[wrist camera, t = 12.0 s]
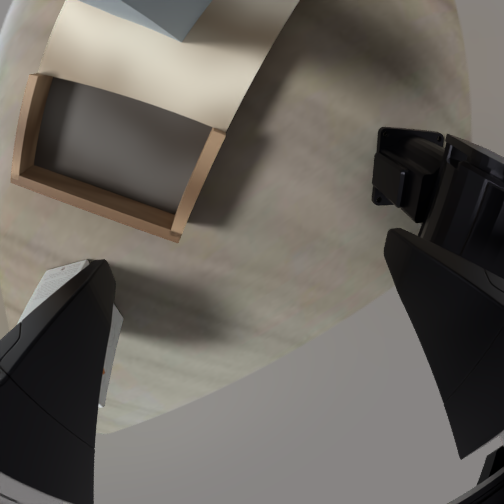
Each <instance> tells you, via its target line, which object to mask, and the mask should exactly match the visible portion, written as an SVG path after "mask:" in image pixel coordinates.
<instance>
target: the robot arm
mask: <svg viewBox="0 0 504 504" xmlns="http://www.w3.org/2000/svg"><path fill="white" fill-rule="evenodd" d="M385 131H386V135H385V136H383V133H384V132H385ZM438 136H439V139H438V140H437V138H438ZM443 140H444V137H443V135H442V134H441V133H438V132H433V131H424V130H415V129H405V128H392V127H382V128H380V129H379V131H378V141H377V153H376V154H375V159H374V169H373V179H372V184H373V192H372V201H373V203H374V204H375V205H395V206H396V207H397V208H401V209H402V210H403V211H404V212H405V213H406V214H407V215H408V216H409V217H410V218H411V219H412V220H413V221H414V222H415V223H422V226H421V229H420V231H419V234H418V236H417V235H415V234H412V233H410V232H408V231H406V230H403V229H401V228H395V229H390V230H389V231H388V233H387V238H386V242H385V247H384V257H385V260H386V263H387V265H388V268H389V270H390V273H391V275H392V278H393V281H394V283H395V286H396V289H397V291H398V294H399V296H400V298H401V301H402V303H403V305H404V307H405V309H406V311H407V313H408V315H409V318H410V320H411V322H412V324H413V327H414V329H415V331H416V333H417V336H418V338H419V340H420V342H421V345H422V348H423V350H424V352H425V355H426V357H427V360H428V362H429V365H430V367H431V370H432V373H433V375H434V378H435V380H436V383H437V386H438V389H439V391H440V394H441V397H442V400H443V403H444V407H445V410H446V413H447V416H448V419H449V422H450V425H451V429H452V432H453V436H454V439H455V442H456V446H457V450H458V454H459V457H460V459H463V458H465V457H466V456H468V455H470V454H472V453H473V452H475V451H476V450H478V449H480V448H481V447H483V446H484V445H486V444H487V443H489V442H490V441H492V440H493V439H495V438H496V437H498V436H500V439H501V441H502V444H503V445H502V446H501V447H499V448H498V449H496V450H495V451H494V452H492V453H491V454H489V455H488V456H487V458H486V460H485V464H484V467H483V469H482V472H481V475H480V478H479V481H478V483H477V486H476V487H474V488H473V489H471V490H470V491H468V492H466V493H465V494H463V495H462V496H460V497H458V498H456V499H455V500H453V501H451V502H449V503H448V504H504V157H502V156H500V155H498V154H496V153H494V152H492V151H490V150H488V149H486V148H483V147H481V146H479V145H476V144H474V143H471V142H469V141H466V140H463V139H461V138H458V137H455V136H453V135H450V134H447V136H446V140H445V141H446V147H445V149H444V148H443ZM378 197H380V198H379V200H377V198H378ZM376 200H377V201H376ZM115 288H116V283H115V279H114V277H113V274H112V272H111V269H110V267H109V264H108V262H107V261H106V260H105V259H102V260H95V261H93V262H91V263H90V264H89V265H88V266H86V267H85V268H84V269H82V270H81V271H80V272H79V273H77V274H76V275H75V276H74V277H72V278H71V279H70V280H69V281H67V282H66V283H65V284H64V285H62V286H61V287H60V288H59V289H58V290H56V291H55V292H54V293H53V294H52V295H50V296H49V297H48V298H47V299H46V300H45V301H43V302H42V303H41V304H40V305H39V306H38V307H36V308H35V309H34V310H33V311H32V312H31V313H30V314H28V315H27V316H26V317H25V318H24V319H23V320H22V322H19V323H18V324H17V325H16V326H15V327H14V328H13V329H12V330H11V331H10V332H8V333H7V334H6V335H5V336H4V337H3V338H2V339H1V340H0V504H63V502H67V503H69V504H94V501H93V499H94V498H93V497H94V494H93V491H94V489H93V488H94V486H93V485H94V453H95V449H94V448H95V436H96V424H97V414H98V405H99V397H100V389H101V382H102V375H103V369H104V363H105V357H106V351H107V346H108V340H109V335H110V330H111V323H112V313H113V304H114V296H115Z"/></svg>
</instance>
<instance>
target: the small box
mask: <svg viewBox="0 0 504 504" xmlns="http://www.w3.org/2000/svg"><path fill="white" fill-rule="evenodd" d="M89 264H90V263H89V261H88V260H83V261H79V262H76V263H72V264H68V265H65V266H61V267H57V268H54V269H50V270H47V271H46V272H45V274H44V276H43V277H42V279H41V281H40V282H39V284H38V286H37V287H36V289H35V291H34V293H33V295H32V296H31V298H30V300H29V302H28V304H27V306H26V308H25V310H24V312H23V314H22V316H21V317H20V319H19V321H18V323H19V322H22V320H23V319H24V318H25V317H26V316H27V315H28V314H30V313H31V312H32V311H33V310H34V309H35V308H36V307H38V306H39V305H40V304H41V303H42V302H43V301H45V300H46V299H47V298H48V297H49V296H50V295H52V294H53V293H54V292H55V291H56V290H58V289H59V288H60V287H61V286H62V285H64V284H65V283H66V282H67V281H69V280H70V279H71V278H72V277H74V276H75V275H76V274H77V273H79V272H80V271H81V270H82V269H84V268H85V267H86V266H88V265H89ZM122 323H123V317H122V315H121V314H120V312H119V311H118V309H117V308H116V306H115V305H114V304H113V313H112V323H111V330H110V335H109V340H108V346H107V351H106V357H105V363H104V369H103V375H102V382H101V389H100V397H99V405H98V407H104V406H105V400H106V395H107V389H108V384H109V379H110V375H111V370H112V365H113V360H114V356H115V351H116V347H117V343H118V339H119V334H120V330H121V327H122Z"/></svg>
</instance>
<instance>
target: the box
mask: <svg viewBox="0 0 504 504" xmlns="http://www.w3.org/2000/svg"><path fill="white" fill-rule="evenodd" d="M299 1H300V0H212V2H211V3H210V4H209V5H208V7H207V8H206V9H205V11H204V12H203V13H202V15H201V16H200V17H199V19H198V20H197V21H196V23H195V24H194V25H193V27H192V28H191V30H190V31H189V33H188V34H187V35H186V37H185V38H184V40H183V41H182V43H181V42H179V41H177V40H175V39H173V38H170V37H168V36H166V35H164V34H161V33H159V32H157V31H154V30H152V29H149V28H147V27H144V26H142V25H139V24H137V23H134V22H131V21H129V20H126V19H123V18H120V17H117V16H115V15H112V14H110V13H108V12H105V11H103V10H101V9H98V8H96V7H93V6H91V5H88V4H86V3H83V2H81V1H78V0H66V1H65V3H64V5H63V7H62V9H61V12H60V14H59V16H58V18H57V21H56V23H55V25H54V28H53V30H52V33H51V35H50V38H49V40H48V43H47V46H46V48H45V51H44V54H43V57H42V60H41V63H40V66H39V69H38V73H37V74H30V75H29V78H28V81H27V85H26V89H25V93H24V97H23V101H22V106H21V110H20V115H19V120H18V126H17V131H16V138H15V144H14V152H13V160H12V170H11V183H13V184H16V185H19V186H21V187H24V188H27V189H29V190H32V191H34V192H37V193H40V194H43V195H45V196H48V197H51V198H53V199H56V200H59V201H61V202H64V203H67V204H70V205H72V206H75V207H78V208H80V209H83V210H86V211H89V212H91V213H94V214H97V215H100V216H102V217H105V218H108V219H111V220H114V221H116V222H119V223H122V224H125V225H128V226H130V227H133V228H136V229H139V230H142V231H144V232H147V233H150V234H153V235H156V236H159V237H162V238H164V239H167V240H170V241H173V242H176V243H179V240H180V238H181V235H182V233H183V230H184V228H185V225H186V223H187V221H188V218H189V216H190V214H191V211H192V209H193V207H194V204H195V202H196V200H197V197H198V195H199V193H200V191H201V188H202V186H203V184H204V182H205V179H206V177H207V175H208V173H209V171H210V168H211V166H212V164H213V162H214V160H215V158H216V156H217V153H218V151H219V149H220V147H221V145H222V143H223V141H224V139H225V137H226V131H227V129H228V127H229V125H230V123H231V121H232V119H233V117H234V115H235V113H236V111H237V109H238V107H239V105H240V103H241V101H242V99H243V97H244V96H245V94H246V92H247V90H248V88H249V86H250V84H251V82H252V80H253V79H254V77H255V75H256V73H257V71H258V70H259V68H260V66H261V64H262V62H263V61H264V59H265V57H266V55H267V53H268V52H269V50H270V48H271V47H272V45H273V43H274V41H275V40H276V38H277V36H278V35H279V33H280V31H281V30H282V28H283V26H284V25H285V23H286V21H287V20H288V18H289V16H290V15H291V13H292V12H293V10H294V8H295V7H296V5H297V4H298V2H299Z"/></svg>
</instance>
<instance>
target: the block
mask: <svg viewBox="0 0 504 504" xmlns="http://www.w3.org/2000/svg"><path fill="white" fill-rule="evenodd" d="M78 1H81V2H83V3H86V4H88V5H91V6H93V7H96V8H98V9H101V10H103V11H105V12H108V13H110V14H112V15H115V16H117V17H120V18H123V19H126V20H129V21H131V22H134V23H137V24H139V25H142V26H144V27H147V28H149V29H152V30H154V31H157V32H159V33H161V34H164V35H166V36H168V37H170V38H173V39H175V40H177V41H179V42H181V43H182V41H183V40H184V38H185V37H186V35H187V34H188V33H189V31H190V30H191V28H192V27H193V25H194V24H195V23H196V21H197V20H198V19H199V17H200V16H201V15H202V13H203V12H204V11H205V9H206V8H207V7H208V5H209V4H210V3H211V2H212V0H78Z"/></svg>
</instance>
